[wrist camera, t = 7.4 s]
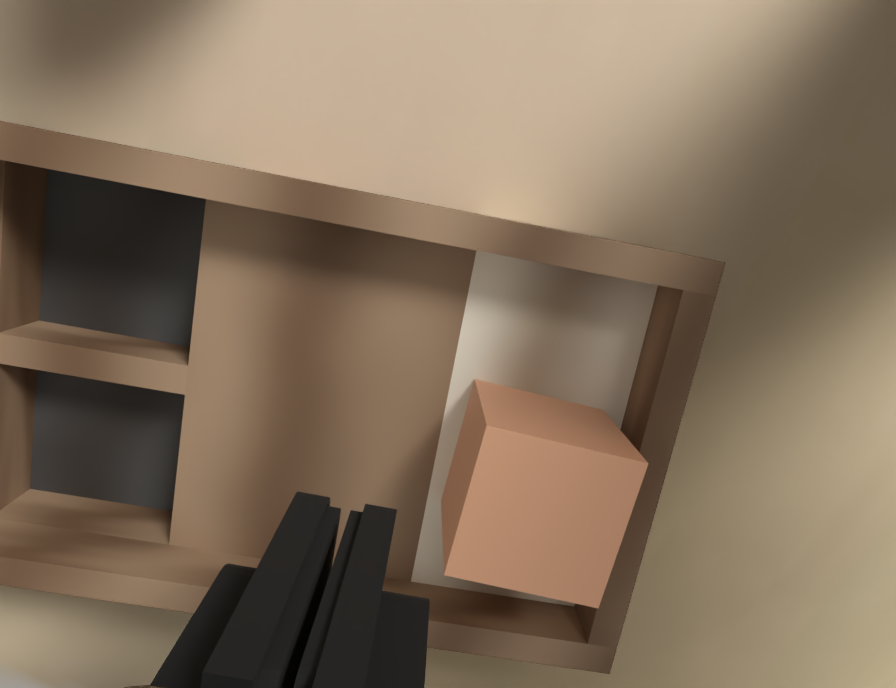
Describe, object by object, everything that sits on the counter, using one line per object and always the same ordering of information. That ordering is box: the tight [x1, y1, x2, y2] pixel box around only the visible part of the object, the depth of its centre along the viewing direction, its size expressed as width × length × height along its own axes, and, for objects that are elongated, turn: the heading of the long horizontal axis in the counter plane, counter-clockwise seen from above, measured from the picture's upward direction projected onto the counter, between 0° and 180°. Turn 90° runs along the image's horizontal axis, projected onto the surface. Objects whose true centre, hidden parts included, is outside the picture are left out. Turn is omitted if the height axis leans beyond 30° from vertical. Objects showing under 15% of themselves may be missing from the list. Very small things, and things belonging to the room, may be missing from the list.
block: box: [441, 379, 649, 608], centre depth 19 cm, size 4×4×4 cm
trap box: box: [0, 121, 725, 674], centre depth 21 cm, size 23×14×4 cm, turn 79°
